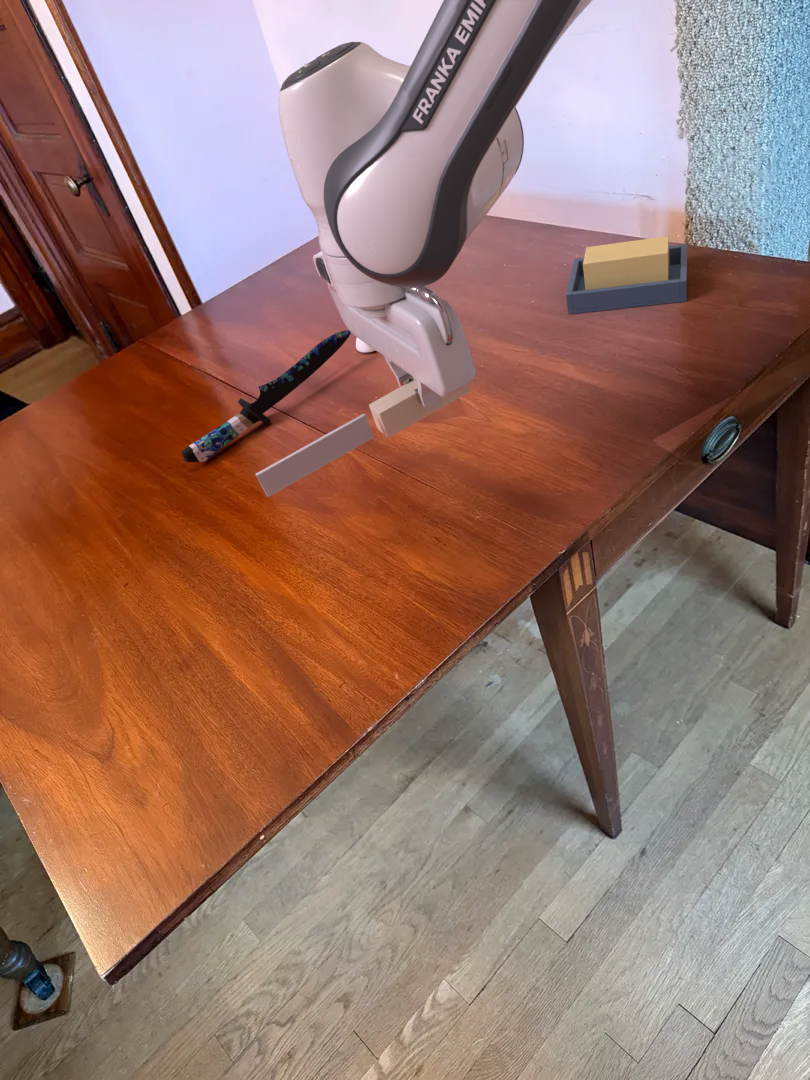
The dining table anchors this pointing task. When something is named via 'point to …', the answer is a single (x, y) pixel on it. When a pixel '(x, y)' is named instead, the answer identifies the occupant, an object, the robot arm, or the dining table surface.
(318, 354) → the knife
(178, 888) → the dining table surface
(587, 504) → the dining table surface
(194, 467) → the dining table surface
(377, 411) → the butter knife
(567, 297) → the butter dish
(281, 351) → the dining table surface
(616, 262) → the butter
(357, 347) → the lidless jar
